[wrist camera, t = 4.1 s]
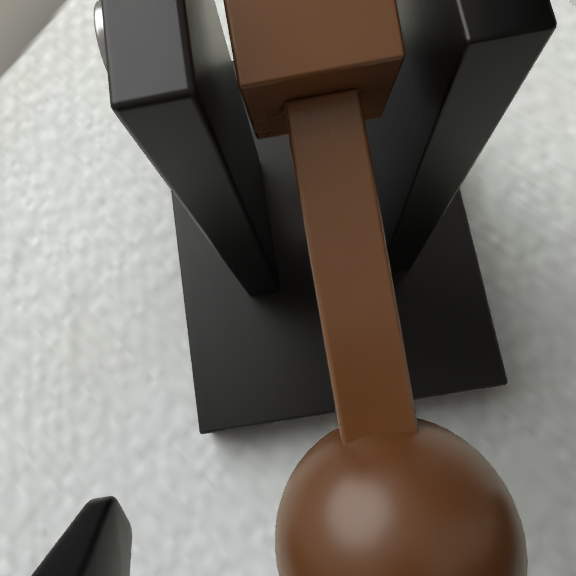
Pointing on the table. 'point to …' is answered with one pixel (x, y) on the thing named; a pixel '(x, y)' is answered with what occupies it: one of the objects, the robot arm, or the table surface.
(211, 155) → the bracket
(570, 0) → the chalice
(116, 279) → the table surface
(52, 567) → the robot arm
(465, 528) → the lever
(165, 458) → the table surface
